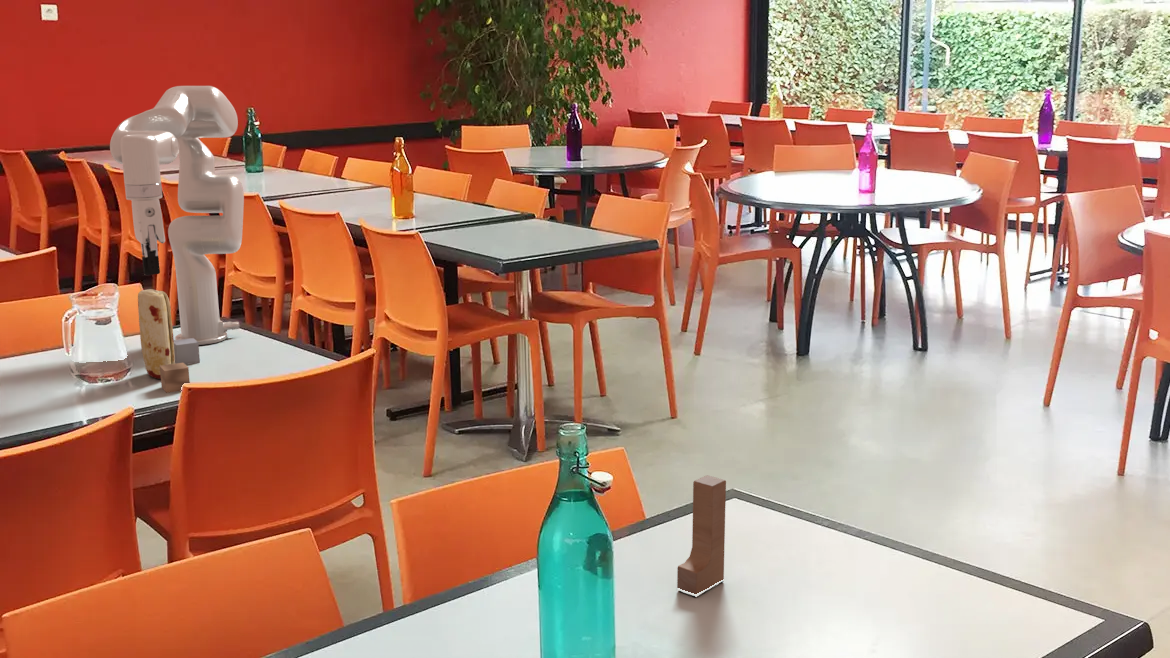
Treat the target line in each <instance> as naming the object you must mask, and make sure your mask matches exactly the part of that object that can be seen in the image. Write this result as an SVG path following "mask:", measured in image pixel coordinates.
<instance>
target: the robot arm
mask: <svg viewBox="0 0 1170 658" xmlns="http://www.w3.org/2000/svg"><path fill="white" fill-rule="evenodd" d="M238 119H239V118H238V114H237V112H236V110H235V107H234V106H233V104H232V102H230V100H229V99H228V98H227V96H226V95H225V94H224V93H223V92H222V91H221V90H220V89H219V88H217V87H215V86H213V85H176V86H173V87H170V88H168V89H166V91H165V92H164V93H163V94H162V96H161V97H160V98H159V100H158V102H157V103H156V104H155V106H154V107H152V108H151V109H147V110H145V111H143V112H141V113H138V114H136V115H132V116H130V117H128V118H126V119H125V120H123V121H122V122H120V123H119V124H118V126H117V127H116V129H115V130H114V132H113V133H112V136H111V139H110V142H109V149H110V150H109V151H110V155H111V157H112V159H113V160H114V161H115V162H116V163H118V164H120V165H122V171H123V183H124V191H125V199H126V200H127V201H131V210H132V220H133V221H132V222H133V230H134V237H135V239H136V240H137V241H138V242H139V243H140V248H141V255H142V256H141V260H142V270H143V275H145V276H152V275H153V276H154V275H159V274H160V273H161V269H160V259H159V258H160V257H159V250H158V242H159V243H161V244H164V243H165V242H166V236H165V229H164V221H163V214H162V209H161V208H162V207H161V204H160V203H161V202H160V199H162V198H163V187H162V178H161V167H160V166H161V165H169V164H171V163H173V162H174V161H176V159H177V158H179V167H178V168H179V169H178V170H179V171H178V183H177V184H178V185H177V203H178V206H179V207H180V209H181V211H184V212H186V213H194V214H219V213H220V214H222V215H183V216H179V217H176V218H175V219H173V220H172V221H171V222H170V223H169V226H168V229H167V234H168V239H169V244H170V248H171V251H172V255H173V259H174V261H173V262H174V268H175V277H176V288H177V289H176V290H177V299H178V300H177V301H178V311H179V312H178V313H179V322H180V323H179V324H180V333H179V334H177V335H176V336H175V337H174V340H182V339H190V338H194V339H195V340H196V341H197V342H198V346H202V345H211V344H216V343H217V344H218V343H220V342H222V341H225V340H227V338H228V333H227V332H228V331H230V330H232V331H233V330H240V322H239V321H223V320H222V319H220V309H219V295H218V285H217V284H218V283H217V273H216V269H215V267H214V265H213V263H212V262H211V260H209V258H208V257H207V256H206V255H223V254H224V255H226V254H227V255H228V254H229V255H230V254H234V253H237V252H238V251H239V250H240V248H241V245H242V242H243V229H244V228H243V226H244V207H245V206H244V205H245V196H244V195H245V193H244V188H243V185H242V182H241V180H240V179H239V178H238V177H237V176H235V175H232V174H231V175H230V174H215V171H216V170H215V167H216V166H215V165H216V164H215V163H216V159H215V156H214V155H213V153H212V152H211V150H210V149H209V147H208V146H206V144H205V143H203V141H201V140H200V139H202V138H203V139H204V138H207V139H210V138H214V139H215V138H219V139H220V138H231V137H232V136H233V135H235V133H236V132H237V130H238V126H239V124H238V123H239V122H238V121H239V120H238Z"/></svg>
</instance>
